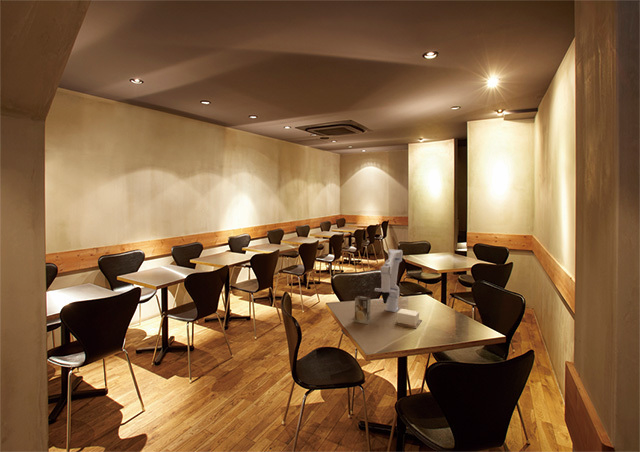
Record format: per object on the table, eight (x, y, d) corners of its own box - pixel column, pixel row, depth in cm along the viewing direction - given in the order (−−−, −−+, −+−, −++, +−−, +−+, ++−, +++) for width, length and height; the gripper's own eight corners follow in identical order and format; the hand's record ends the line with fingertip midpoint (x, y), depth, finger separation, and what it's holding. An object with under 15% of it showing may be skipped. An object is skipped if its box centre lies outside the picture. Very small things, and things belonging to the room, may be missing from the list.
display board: (404, 317, 228) (404, 316, 228) (421, 320, 222) (421, 320, 222) (397, 325, 214) (397, 324, 214) (415, 329, 208) (415, 328, 208)
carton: (401, 308, 225) (419, 311, 219) (400, 317, 225) (418, 321, 219) (397, 312, 217) (415, 316, 211) (396, 322, 218) (415, 325, 212)
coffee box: (370, 321, 221) (371, 297, 219) (367, 324, 215) (367, 300, 213) (357, 318, 225) (358, 295, 223) (354, 321, 219) (354, 297, 218)
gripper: (373, 283, 225) (372, 302, 226) (394, 286, 217) (393, 306, 219) (377, 280, 231) (376, 300, 232) (397, 283, 224) (397, 303, 225)
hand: (385, 302), depth 226 cm, fingers closed
